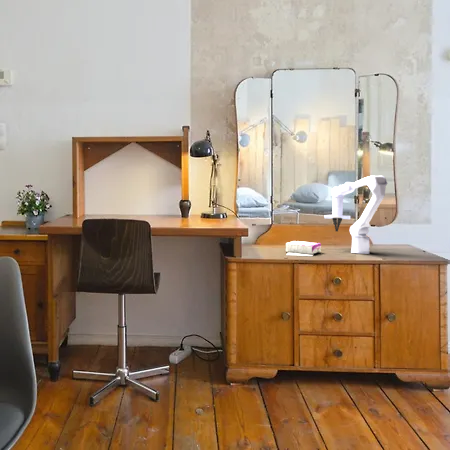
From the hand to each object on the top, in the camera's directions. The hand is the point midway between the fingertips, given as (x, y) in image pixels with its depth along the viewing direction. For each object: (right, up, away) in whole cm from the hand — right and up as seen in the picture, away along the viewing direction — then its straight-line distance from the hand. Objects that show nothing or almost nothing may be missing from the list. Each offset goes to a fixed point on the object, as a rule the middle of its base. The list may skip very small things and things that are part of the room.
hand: (336, 231), depth 258 cm
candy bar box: (-15, -10, -16) cm, 24 cm away
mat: (-23, -12, -14) cm, 30 cm away
